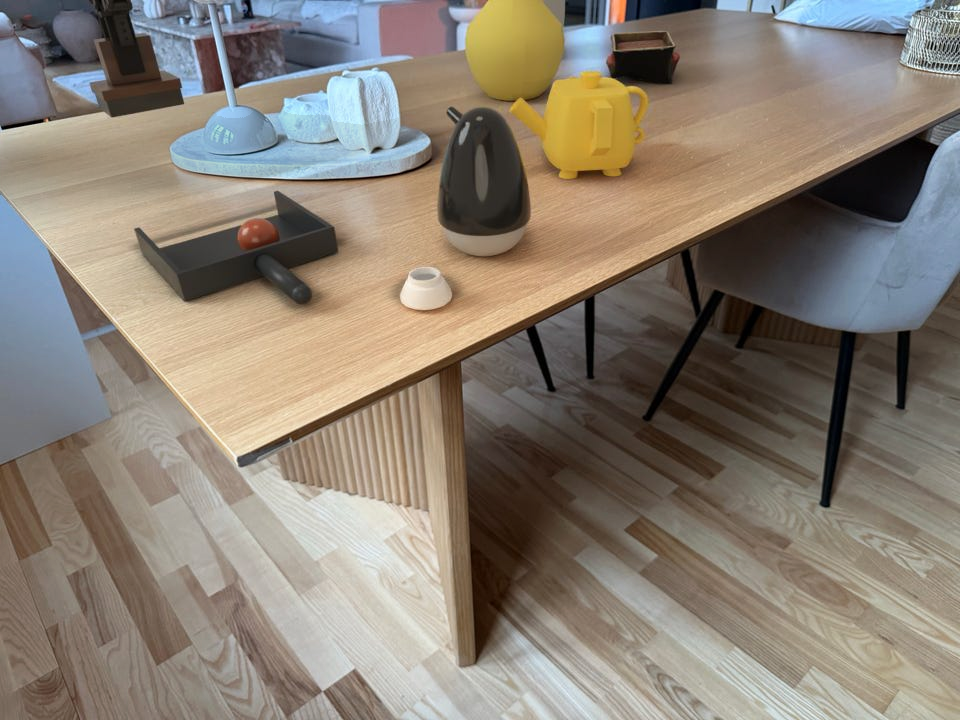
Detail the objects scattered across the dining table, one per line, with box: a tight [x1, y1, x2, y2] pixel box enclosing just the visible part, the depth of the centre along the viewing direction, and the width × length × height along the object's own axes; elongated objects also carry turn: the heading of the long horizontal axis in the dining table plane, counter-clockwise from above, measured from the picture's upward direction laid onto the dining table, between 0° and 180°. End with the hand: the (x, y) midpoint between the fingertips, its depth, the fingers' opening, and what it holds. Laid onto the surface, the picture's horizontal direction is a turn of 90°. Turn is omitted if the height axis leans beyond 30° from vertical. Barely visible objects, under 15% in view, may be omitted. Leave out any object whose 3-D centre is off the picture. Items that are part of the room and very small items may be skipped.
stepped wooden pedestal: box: [88, 32, 185, 118], centre depth 88 cm, size 6×9×8 cm
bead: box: [237, 217, 280, 252], centre depth 76 cm, size 4×4×4 cm
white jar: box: [399, 266, 453, 311], centre depth 68 cm, size 5×3×5 cm
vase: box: [464, 0, 566, 102], centre depth 125 cm, size 18×18×30 cm
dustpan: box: [133, 190, 339, 305], centre depth 74 cm, size 25×17×3 cm
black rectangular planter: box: [605, 30, 681, 85], centre depth 141 cm, size 14×18×10 cm
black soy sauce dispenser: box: [436, 106, 532, 257], centre depth 74 cm, size 10×10×15 cm
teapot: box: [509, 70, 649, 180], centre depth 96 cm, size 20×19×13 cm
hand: (129, 71), depth 87 cm, fingers closed on stepped wooden pedestal, 2 cm apart
